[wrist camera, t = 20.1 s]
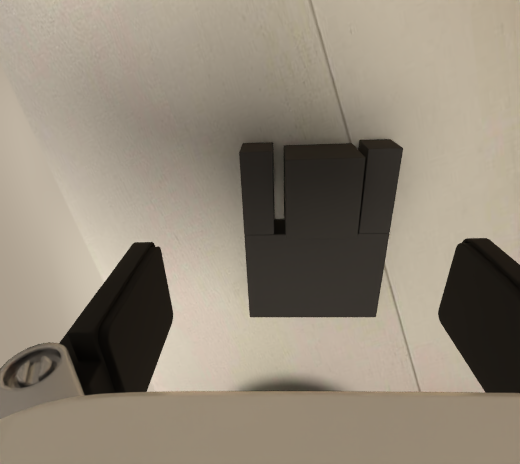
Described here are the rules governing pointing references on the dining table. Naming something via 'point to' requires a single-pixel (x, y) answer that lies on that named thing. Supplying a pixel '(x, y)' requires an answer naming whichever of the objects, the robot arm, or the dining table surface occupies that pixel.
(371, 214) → the forked base block
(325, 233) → the dark grey square block
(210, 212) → the dining table surface
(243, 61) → the dining table surface
